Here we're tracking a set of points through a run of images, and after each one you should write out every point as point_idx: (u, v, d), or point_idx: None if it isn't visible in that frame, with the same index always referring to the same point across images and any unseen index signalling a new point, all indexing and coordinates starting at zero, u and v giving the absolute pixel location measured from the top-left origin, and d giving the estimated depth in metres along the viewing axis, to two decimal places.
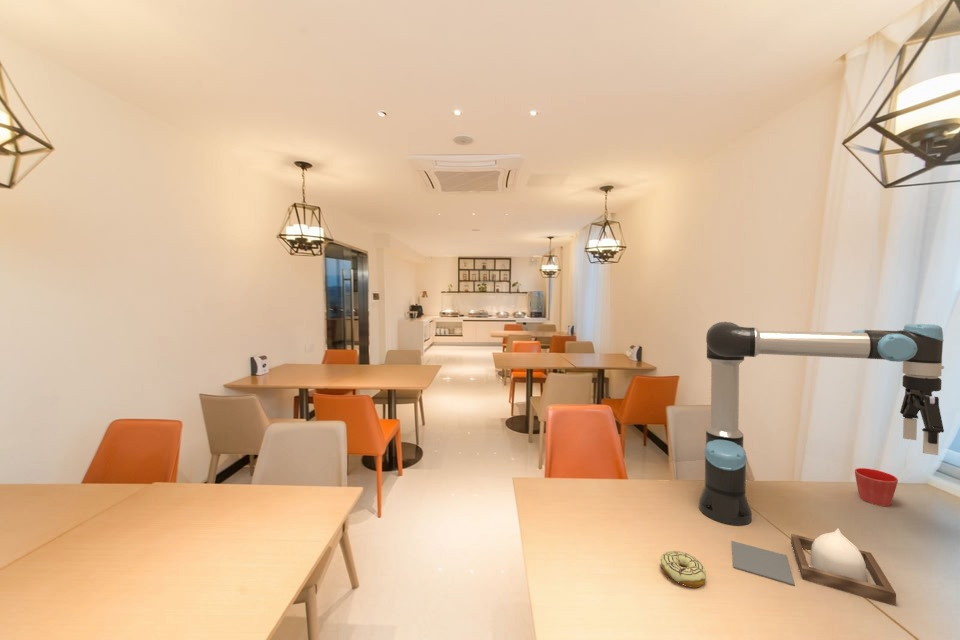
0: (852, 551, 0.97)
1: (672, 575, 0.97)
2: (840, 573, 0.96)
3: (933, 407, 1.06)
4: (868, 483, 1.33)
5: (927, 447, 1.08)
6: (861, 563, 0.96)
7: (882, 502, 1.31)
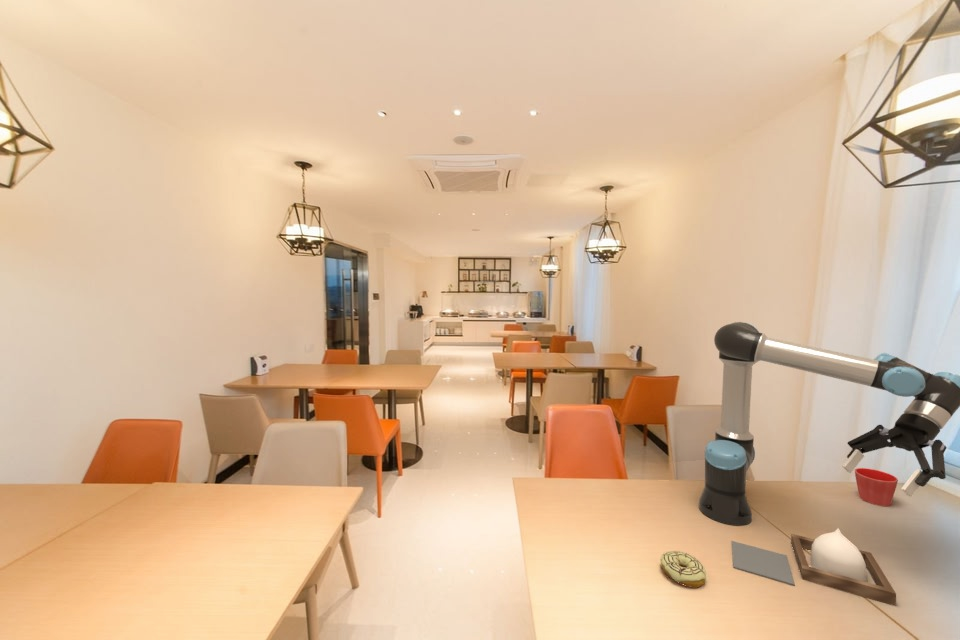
0: (852, 551, 0.97)
1: (672, 575, 0.97)
2: (840, 573, 0.96)
3: (941, 453, 0.95)
4: (868, 483, 1.33)
5: (910, 485, 0.94)
6: (861, 563, 0.96)
7: (882, 502, 1.31)
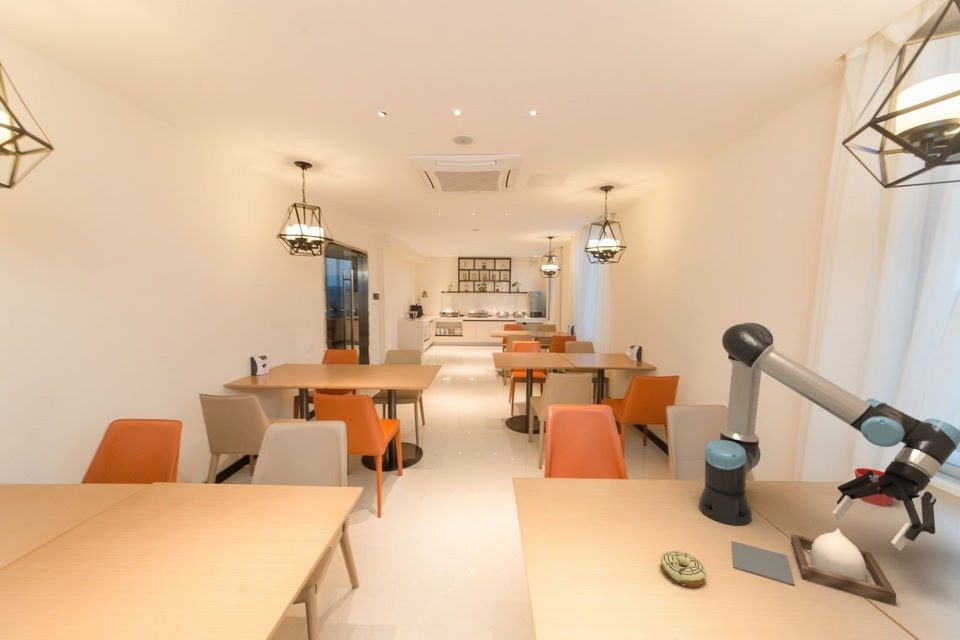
0: (852, 551, 0.97)
1: (672, 575, 0.97)
2: (840, 573, 0.96)
3: (931, 506, 0.94)
4: None
5: (900, 539, 0.93)
6: (861, 563, 0.96)
7: (882, 502, 1.31)
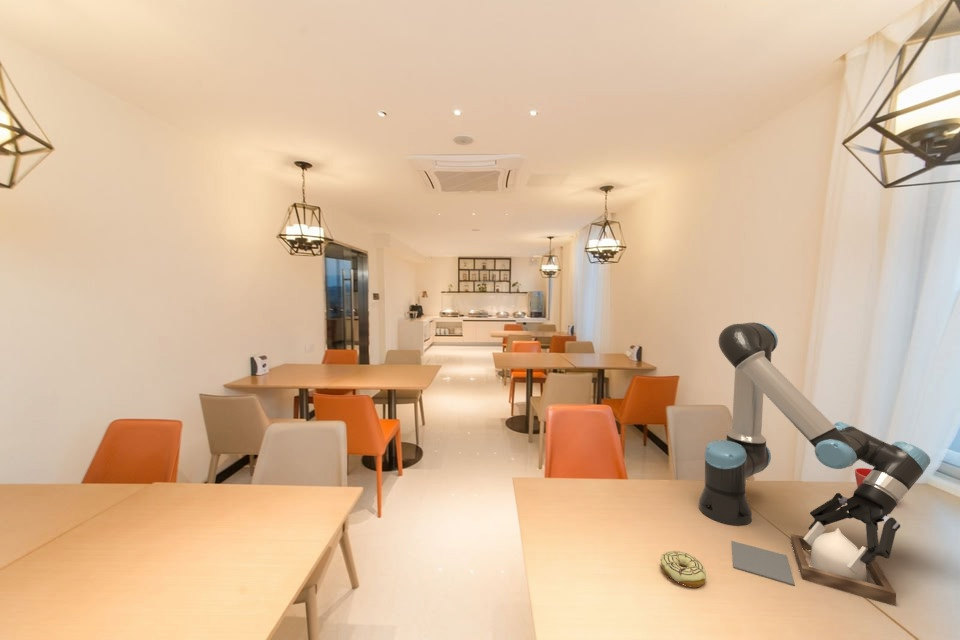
0: (852, 551, 0.97)
1: (672, 575, 0.97)
2: (840, 573, 0.96)
3: (892, 531, 0.94)
4: None
5: (856, 563, 0.94)
6: None
7: None
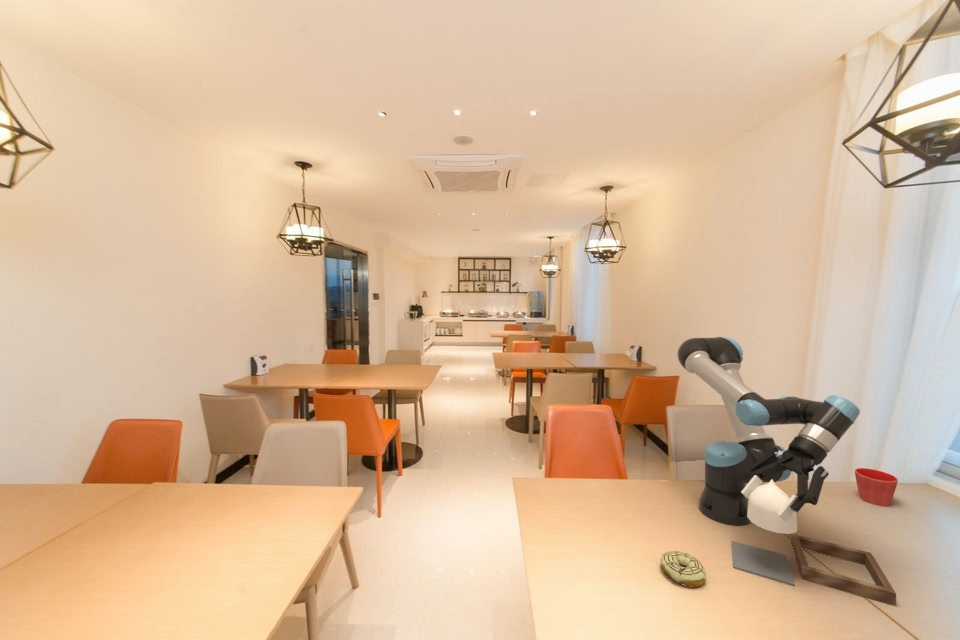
0: (784, 500, 0.99)
1: (672, 575, 0.97)
2: (772, 521, 0.99)
3: (820, 479, 0.97)
4: (868, 483, 1.33)
5: (786, 511, 0.97)
6: None
7: (882, 502, 1.31)
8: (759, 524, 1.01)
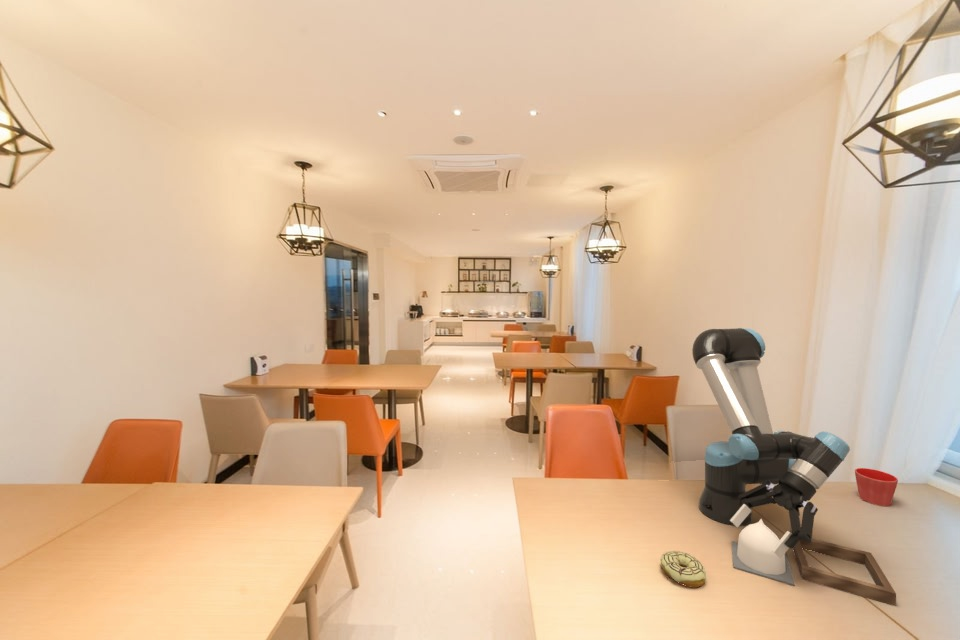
0: (772, 541, 1.01)
1: (672, 575, 0.97)
2: (760, 562, 1.00)
3: (811, 515, 0.98)
4: (868, 483, 1.33)
5: (780, 547, 0.97)
6: None
7: (882, 502, 1.31)
8: (747, 563, 1.02)
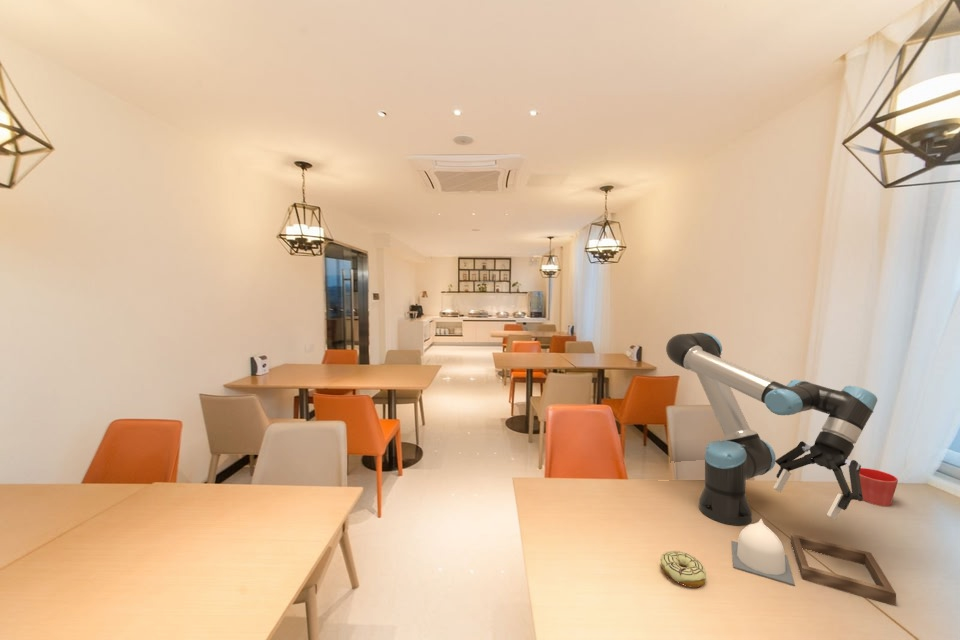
0: (772, 541, 1.01)
1: (672, 575, 0.97)
2: (760, 562, 1.00)
3: (857, 473, 1.00)
4: (868, 483, 1.33)
5: (834, 510, 0.99)
6: (779, 552, 1.00)
7: (882, 502, 1.31)
8: (747, 563, 1.02)
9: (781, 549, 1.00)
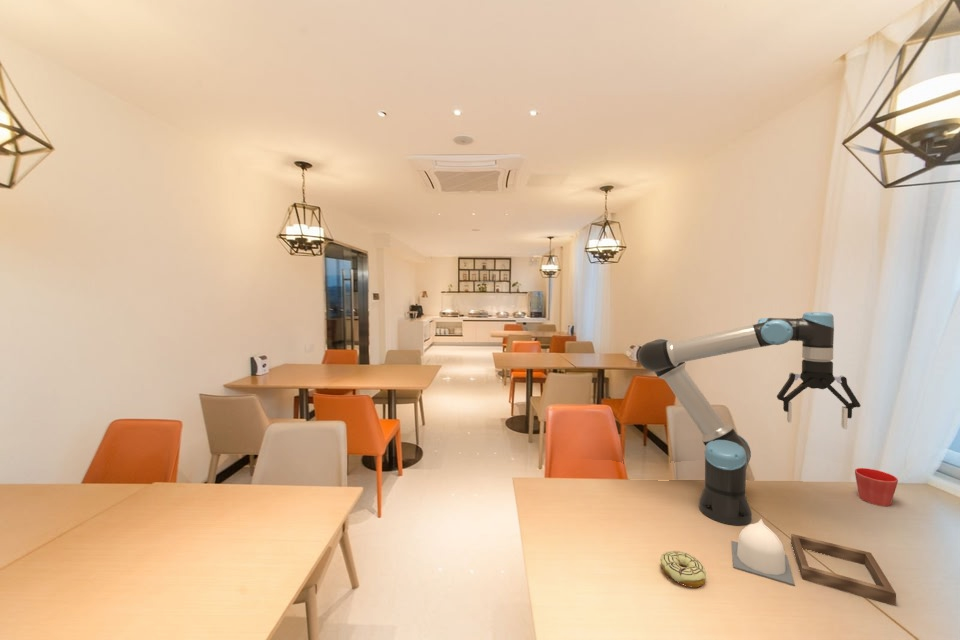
0: (772, 541, 1.01)
1: (672, 575, 0.97)
2: (760, 562, 1.00)
3: (847, 385, 1.19)
4: (868, 483, 1.33)
5: None
6: (779, 552, 1.00)
7: (882, 502, 1.31)
8: (747, 563, 1.02)
9: (781, 549, 1.00)
